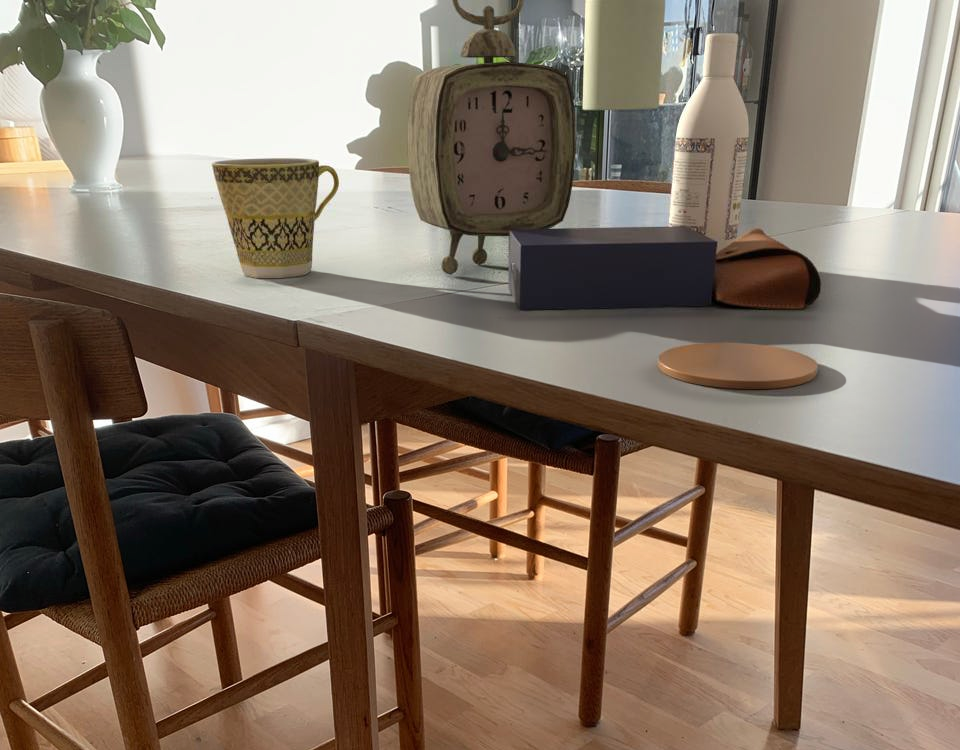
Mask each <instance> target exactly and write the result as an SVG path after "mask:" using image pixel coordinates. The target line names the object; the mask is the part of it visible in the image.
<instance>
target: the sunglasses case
mask: <svg viewBox="0 0 960 750" xmlns="http://www.w3.org/2000/svg"><path fill="white" fill-rule="evenodd" d="M821 292H822V279H821V275H820V273H819V271H818V269H817V267H816V265H814V263H813V262H812V260H811V259H809V258H808V256H806V255H805V254H803V253H801V252H800V251H797V250H794V249H791V248H790V247H788V246H787V245H785V244H783V242H780V241H778V240H776V239H775V238H772V237H770V236H768V235H767V234H766V233H765V232H764V230H763V229H761V228H758V227H757V228H753V229H751V230H749V231H747V232H745V233H744V234H743V235H741V236H739V237H737V238H736V240H735V241H734V242H732V243H731V244H730V245H729V246H727V247H726V248H724V249H722V250H721V251H719V252H716V261H715V270H714V279H713V288H712V298H713V299H714V300H716V301H717V302H718V303H722V304H726V305H728V306H736V307H742V308H748V309H757V310H759V309H760V310H804V309H806V308H808V307H809V306H811V305H812V304H814V302H815V301H817V299H818V298H819V297H820V294H821Z"/></svg>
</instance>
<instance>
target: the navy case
mask: <svg viewBox="0 0 960 750" xmlns="http://www.w3.org/2000/svg"><path fill="white" fill-rule="evenodd" d="M717 243H718V242H717V241H715V240H713V239H711V238H709V237H707V236H705V235H703V234H701V233H699V232H696V231H694V230H692V229H690V228H688V227H686V226H671V227H668V226H626V227H625V226H621V227H620V226H619V227H616V226H615V227H564V228H549V229H509V236H508V279H507V280H508V282H507V283H508V290H509V292H510V294H511V296H512V298H513V300H514V301H515V303H516V305H517V307H518V309H519V311H544V310H545V311H546V310H589V309H590V310H591V309H631V308H632V309H633V308H637V309H638V308H639V309H640V308H675V307H676V308H678V307H679V308H681V307H710V306H711V305H712V298H713V296H712V288H713V279H714V270H715V261H716V252H717Z"/></svg>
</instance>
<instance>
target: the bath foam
mask: <svg viewBox="0 0 960 750" xmlns="http://www.w3.org/2000/svg"><path fill="white" fill-rule="evenodd" d="M738 42H739V34H738V33H733V32H731V33H729V32H728V33H727V32H725V33H724V32H723V33H708V34H706V37H705V44H704V45H705V46H704V57H703V67H702V78H701V80H700V82H699V84H698V85H697V87H696V88H695V90H694V91H693V93H692V94H691V96H690V98H689V99H688V101H687V102H686V104H685V106H684V108H683V110H682V113H681V115H680V117H679V121H678V123H677V129H676V132H675V133H676V135H675V141H674V153H673V163H672V164H673V165H672V176H671V188H670V200H669V210H668V211H669V212H668V224H667V227H671V226H686V227H688V228H690V229H692V230H694V231H696V232H699V233H701V234H703V235H705V236H707V237H709V238H711V239H713V240H715V241H717V242H718V243H717V252H719V251H721V250H722V249H724V248H726V247H727V246H729V245H730V244H731V243H732V242H734V241H735V240H736V239H738V231H739V230H738V229H739V221H740V215H741V214H740V213H741V206H742V196H743V188H744V180H745V173H746V164H747V163H746V162H747V155H748V146H749V134H750V124H749V116H748V115H749V114H748V111H747V106H746V105H745V101H744V98H743V97H742V94H741V92H740V90H739V88H738V85H737V84H736V81H735V79H734V76H735V70H736V69H735V68H736V61H737V52H738Z"/></svg>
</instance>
